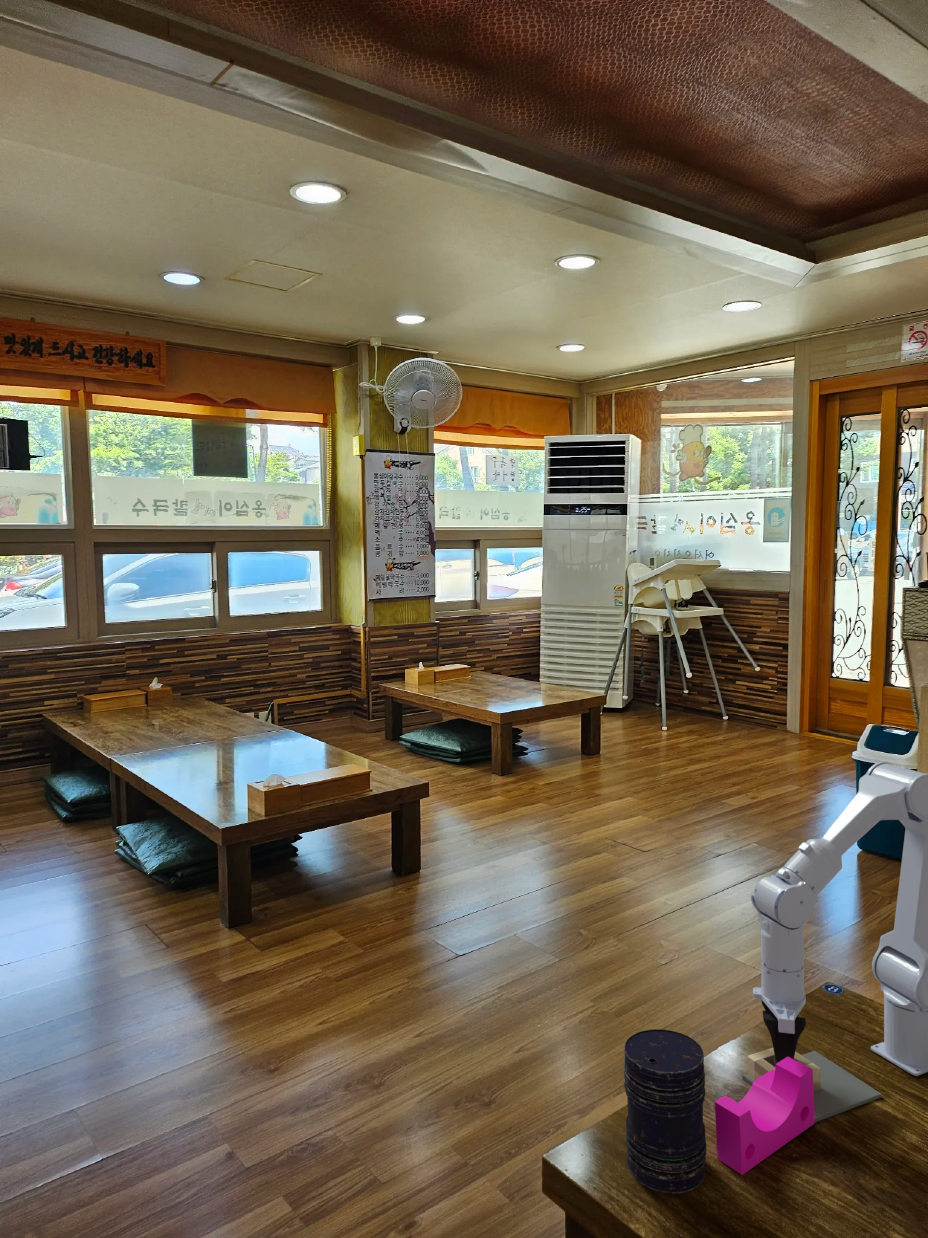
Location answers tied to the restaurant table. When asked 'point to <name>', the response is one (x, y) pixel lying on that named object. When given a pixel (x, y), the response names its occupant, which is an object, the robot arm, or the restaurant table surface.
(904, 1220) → the restaurant table surface
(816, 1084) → the birch square frame
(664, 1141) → the dark metal barrel
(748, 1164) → the toy block
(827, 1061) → the charcoal mat
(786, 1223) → the restaurant table surface
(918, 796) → the robot arm
